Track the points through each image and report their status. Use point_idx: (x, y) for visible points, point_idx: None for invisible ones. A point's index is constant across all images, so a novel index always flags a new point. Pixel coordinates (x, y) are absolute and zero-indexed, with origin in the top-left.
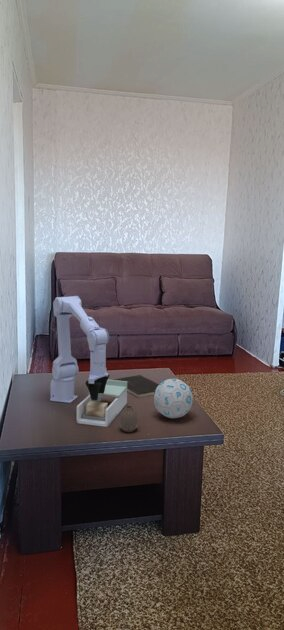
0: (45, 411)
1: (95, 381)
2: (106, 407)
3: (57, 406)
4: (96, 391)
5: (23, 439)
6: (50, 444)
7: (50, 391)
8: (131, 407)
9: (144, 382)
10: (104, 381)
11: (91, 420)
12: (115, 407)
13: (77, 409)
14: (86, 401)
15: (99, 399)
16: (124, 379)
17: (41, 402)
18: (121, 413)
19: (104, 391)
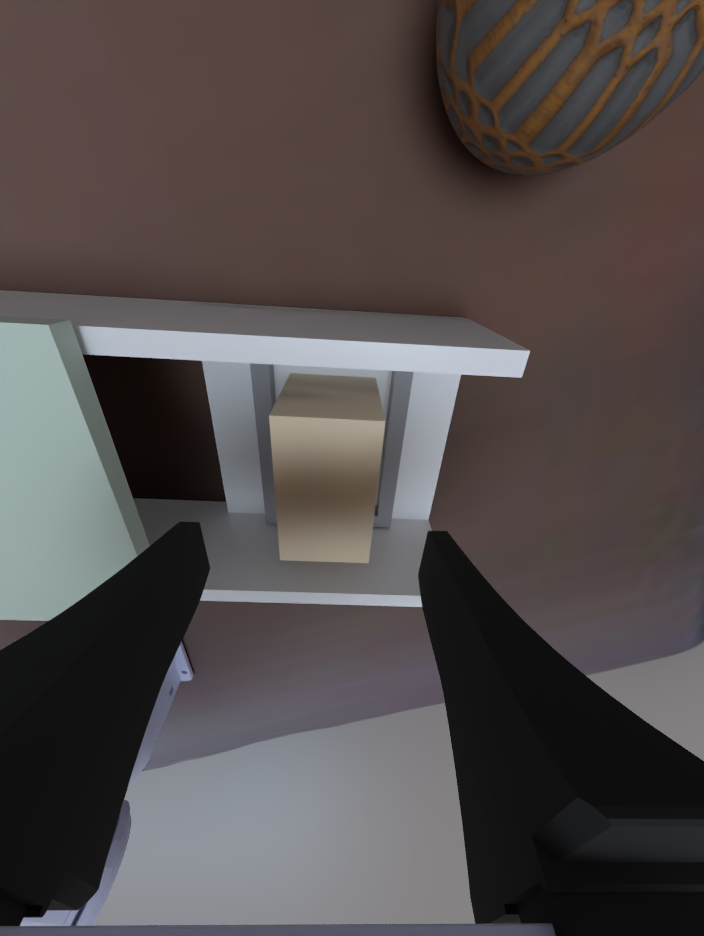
0: (314, 655)
1: (642, 933)
2: (309, 403)
3: (238, 638)
4: (527, 639)
5: (613, 634)
6: (693, 546)
7: (164, 721)
8: None
9: None
10: (82, 685)
11: (411, 455)
12: (228, 318)
13: None
14: (282, 576)
15: None
16: None
17: (226, 687)
18: (657, 87)
19: (47, 525)
